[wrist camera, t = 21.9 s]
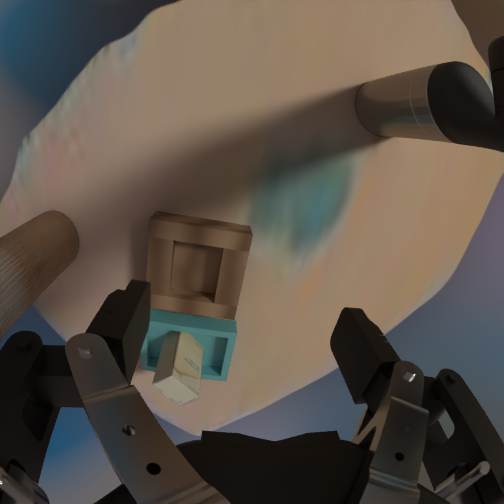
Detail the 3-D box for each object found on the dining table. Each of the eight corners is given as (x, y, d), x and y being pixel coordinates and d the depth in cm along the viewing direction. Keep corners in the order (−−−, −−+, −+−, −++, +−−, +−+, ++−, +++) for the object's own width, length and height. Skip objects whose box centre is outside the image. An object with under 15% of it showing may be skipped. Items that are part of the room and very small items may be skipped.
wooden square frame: (250, 226, 42) (252, 235, 39) (233, 305, 47) (234, 319, 44) (156, 211, 40) (150, 218, 36) (150, 293, 45) (145, 306, 41)
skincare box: (203, 346, 49) (201, 398, 38) (185, 356, 50) (179, 407, 38) (181, 324, 47) (172, 375, 35) (162, 334, 47) (151, 385, 36)
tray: (235, 320, 49) (237, 333, 45) (225, 368, 53) (226, 381, 50) (144, 307, 46) (139, 319, 43) (145, 356, 50) (141, 369, 47)
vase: (81, 216, 39) (-37, 312, 13) (78, 271, 42) (-10, 386, 17) (36, 204, 37) (-84, 278, 11) (35, 257, 40) (-60, 350, 15)
